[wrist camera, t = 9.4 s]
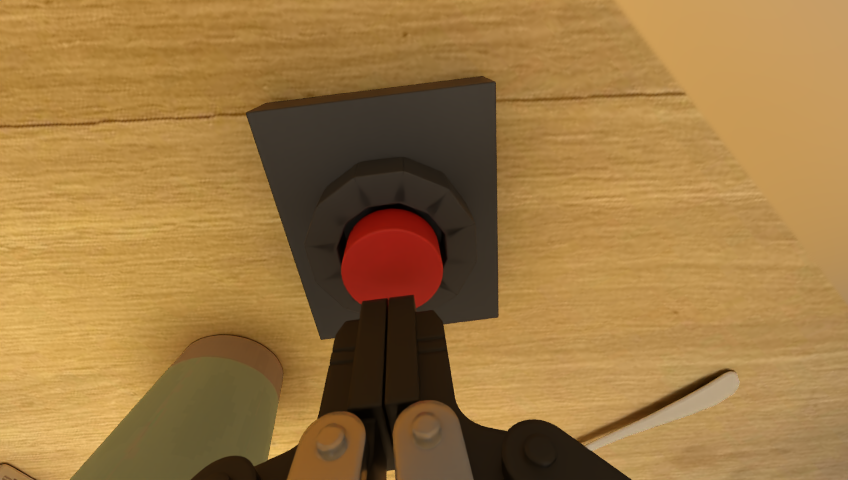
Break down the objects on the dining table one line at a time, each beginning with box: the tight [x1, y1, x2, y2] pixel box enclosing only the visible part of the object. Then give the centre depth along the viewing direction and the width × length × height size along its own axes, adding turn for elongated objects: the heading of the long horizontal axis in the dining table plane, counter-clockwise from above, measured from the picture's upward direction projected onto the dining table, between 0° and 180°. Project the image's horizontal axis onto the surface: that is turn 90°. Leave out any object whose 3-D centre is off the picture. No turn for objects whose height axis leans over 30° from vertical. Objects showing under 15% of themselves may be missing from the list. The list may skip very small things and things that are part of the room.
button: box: [341, 208, 443, 308], centre depth 14 cm, size 4×4×2 cm
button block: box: [246, 76, 498, 340], centre depth 16 cm, size 11×9×4 cm
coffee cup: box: [70, 335, 283, 480], centre depth 17 cm, size 9×9×12 cm
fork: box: [585, 371, 740, 451], centre depth 27 cm, size 3×21×3 cm, turn 124°
